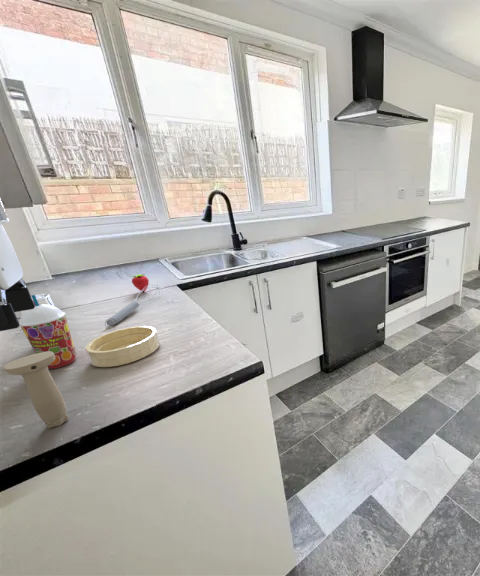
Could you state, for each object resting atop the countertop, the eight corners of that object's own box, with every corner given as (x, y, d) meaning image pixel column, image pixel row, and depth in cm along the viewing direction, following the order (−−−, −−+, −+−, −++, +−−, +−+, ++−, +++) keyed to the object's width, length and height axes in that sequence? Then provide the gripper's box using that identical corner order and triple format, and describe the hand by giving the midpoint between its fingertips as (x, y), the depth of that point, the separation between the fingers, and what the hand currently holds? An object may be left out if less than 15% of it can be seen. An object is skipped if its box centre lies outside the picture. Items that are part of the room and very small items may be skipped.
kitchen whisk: (97, 330, 104) (91, 312, 102) (152, 296, 136) (148, 282, 134) (117, 328, 105) (111, 311, 103) (167, 295, 137) (163, 281, 135)
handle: (33, 427, 62) (2, 363, 57) (76, 409, 67) (50, 349, 62) (38, 438, 60) (5, 372, 55) (82, 418, 65) (56, 356, 60)
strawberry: (137, 295, 136) (131, 274, 132) (133, 292, 140) (127, 271, 137) (153, 292, 140) (147, 271, 137) (149, 288, 145) (143, 268, 141)
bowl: (88, 376, 79) (82, 359, 77) (94, 351, 91) (88, 336, 89) (161, 355, 88) (157, 340, 86) (158, 335, 100) (154, 321, 98)
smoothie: (34, 375, 79) (1, 303, 73) (45, 361, 86) (15, 294, 80) (78, 365, 84) (50, 296, 77) (84, 352, 90) (60, 287, 84)
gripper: (-47, 212, 50) (-2, 309, 56) (-110, 222, 37) (-44, 347, 43) (21, 209, 55) (56, 299, 60) (-15, 217, 42) (33, 331, 47)
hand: (14, 319), depth 51 cm, fingers open, 9 cm apart
